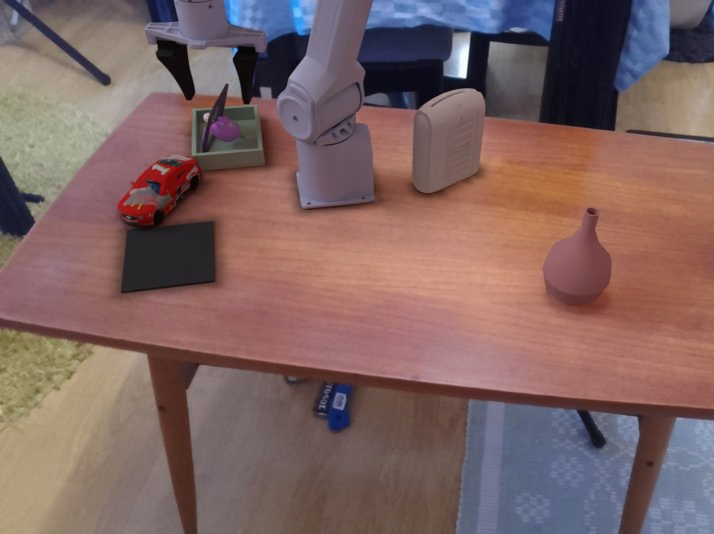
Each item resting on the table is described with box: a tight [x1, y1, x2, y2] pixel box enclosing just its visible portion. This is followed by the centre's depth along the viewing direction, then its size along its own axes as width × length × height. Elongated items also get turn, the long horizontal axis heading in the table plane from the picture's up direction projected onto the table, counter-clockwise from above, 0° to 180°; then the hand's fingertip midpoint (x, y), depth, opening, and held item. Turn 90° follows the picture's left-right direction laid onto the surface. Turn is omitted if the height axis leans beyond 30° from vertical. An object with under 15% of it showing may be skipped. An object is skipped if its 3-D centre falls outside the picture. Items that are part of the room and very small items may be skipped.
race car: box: [116, 153, 203, 227], centre depth 86 cm, size 13×5×4 cm, turn 160°
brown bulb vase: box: [542, 206, 613, 307], centre depth 75 cm, size 8×8×12 cm
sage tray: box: [191, 103, 266, 172], centre depth 96 cm, size 9×12×2 cm
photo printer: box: [411, 87, 487, 194], centre depth 89 cm, size 10×4×12 cm, turn 131°
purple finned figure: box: [202, 82, 245, 153], centre depth 94 cm, size 7×5×9 cm
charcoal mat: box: [120, 220, 215, 294], centre depth 80 cm, size 10×11×1 cm
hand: (219, 98), depth 92 cm, fingers open, 7 cm apart
